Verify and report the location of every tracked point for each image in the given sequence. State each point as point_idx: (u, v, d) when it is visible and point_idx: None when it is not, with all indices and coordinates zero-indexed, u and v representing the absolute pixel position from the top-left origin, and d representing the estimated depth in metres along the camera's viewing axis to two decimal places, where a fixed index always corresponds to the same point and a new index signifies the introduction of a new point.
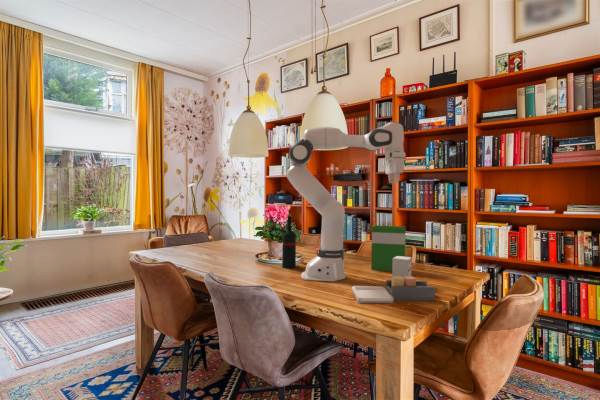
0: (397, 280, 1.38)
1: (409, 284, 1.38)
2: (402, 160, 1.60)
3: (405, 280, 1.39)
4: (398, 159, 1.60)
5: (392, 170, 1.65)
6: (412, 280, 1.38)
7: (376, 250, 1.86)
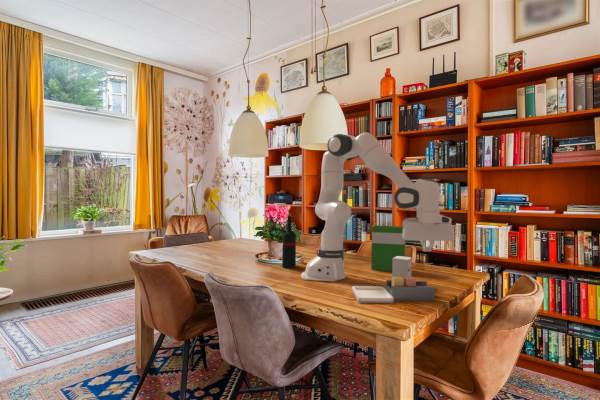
0: (397, 280, 1.38)
1: (409, 284, 1.38)
2: None
3: (405, 280, 1.39)
4: None
5: (438, 237, 1.37)
6: (412, 280, 1.38)
7: (376, 250, 1.86)
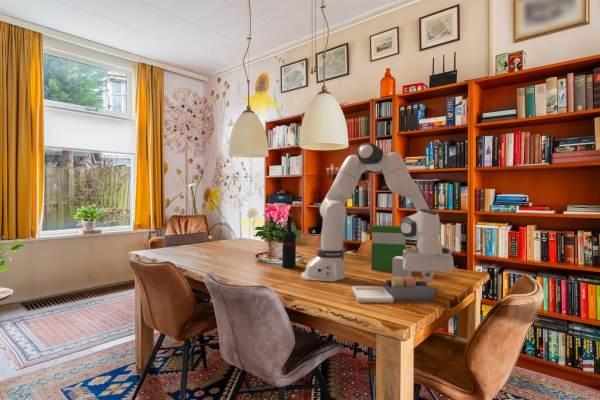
0: (397, 280, 1.38)
1: (409, 284, 1.38)
2: None
3: (405, 280, 1.39)
4: None
5: (439, 268, 1.38)
6: (412, 280, 1.38)
7: (376, 250, 1.86)
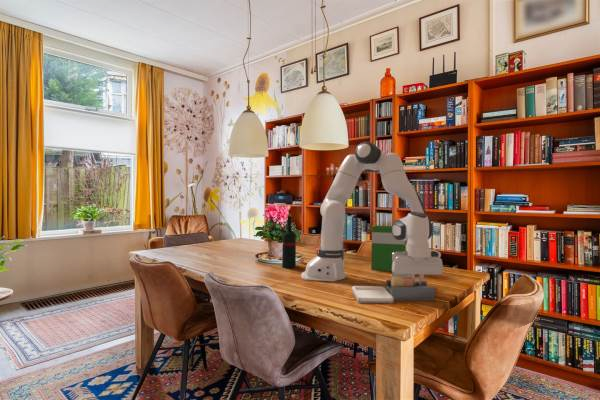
0: (397, 280, 1.38)
1: (406, 284, 1.38)
2: None
3: None
4: None
5: (428, 271, 1.38)
6: (409, 280, 1.38)
7: (376, 250, 1.86)
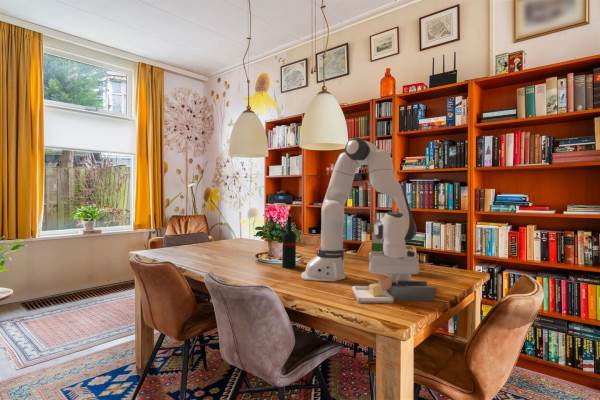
0: (374, 293, 1.37)
1: (385, 285, 1.37)
2: None
3: (380, 282, 1.38)
4: None
5: (404, 271, 1.38)
6: (387, 280, 1.37)
7: (376, 250, 1.86)
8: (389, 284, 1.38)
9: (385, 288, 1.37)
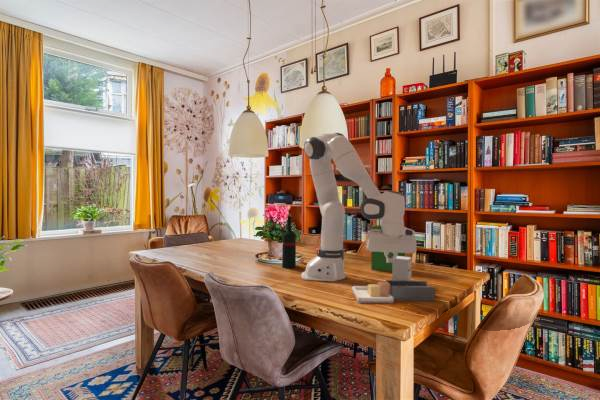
0: (372, 293, 1.37)
1: (383, 289, 1.37)
2: None
3: (379, 285, 1.38)
4: None
5: (401, 249, 1.38)
6: (386, 285, 1.37)
7: None
8: (388, 289, 1.38)
9: (383, 292, 1.37)
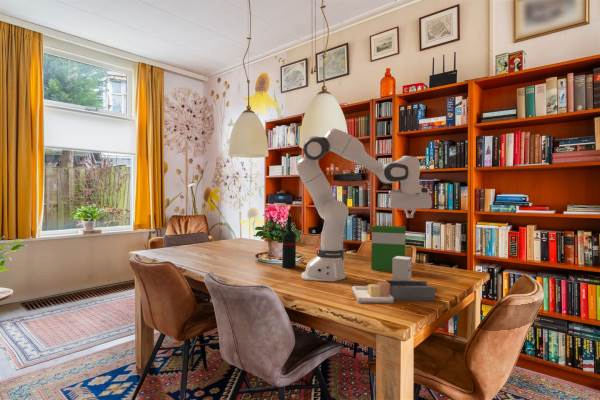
0: (372, 293, 1.37)
1: (383, 289, 1.37)
2: None
3: (379, 285, 1.38)
4: None
5: (419, 205, 1.62)
6: (386, 285, 1.37)
7: (376, 250, 1.86)
8: (388, 289, 1.38)
9: (383, 292, 1.37)
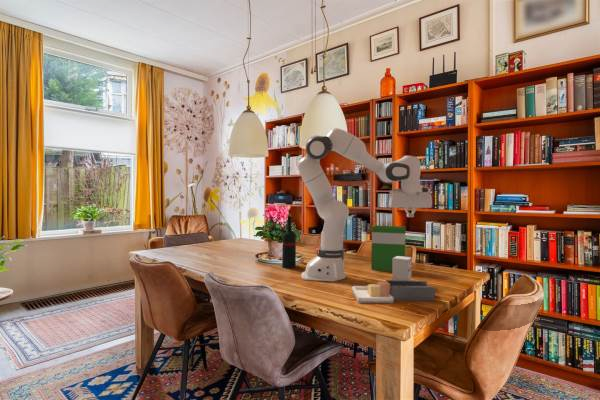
0: (372, 293, 1.37)
1: (383, 289, 1.37)
2: None
3: (379, 285, 1.38)
4: None
5: (419, 205, 1.64)
6: (386, 285, 1.37)
7: (376, 250, 1.86)
8: (388, 289, 1.38)
9: (383, 292, 1.37)
